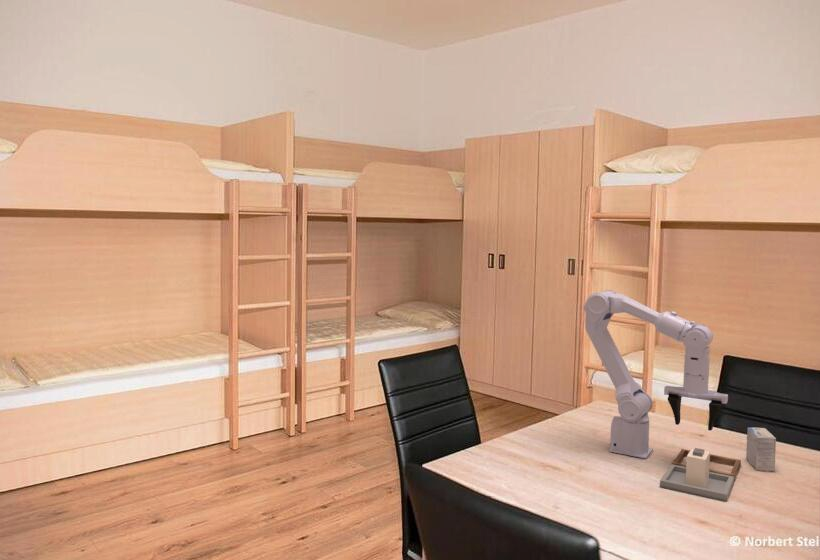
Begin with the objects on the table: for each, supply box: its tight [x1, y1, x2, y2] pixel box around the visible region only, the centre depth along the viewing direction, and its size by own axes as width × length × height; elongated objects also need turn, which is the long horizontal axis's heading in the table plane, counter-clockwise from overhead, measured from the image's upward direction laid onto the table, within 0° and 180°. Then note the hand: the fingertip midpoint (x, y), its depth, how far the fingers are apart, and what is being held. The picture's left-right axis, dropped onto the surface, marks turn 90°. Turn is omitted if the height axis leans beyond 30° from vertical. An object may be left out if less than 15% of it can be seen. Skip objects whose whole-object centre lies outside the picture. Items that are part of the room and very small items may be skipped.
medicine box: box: [745, 427, 777, 472], centre depth 161 cm, size 8×4×9 cm, turn 168°
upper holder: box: [671, 448, 742, 483], centre depth 160 cm, size 14×12×2 cm
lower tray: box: [659, 463, 735, 502], centre depth 149 cm, size 14×12×2 cm
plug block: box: [686, 447, 711, 488], centre depth 149 cm, size 4×6×8 cm, turn 146°
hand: (693, 426), depth 161 cm, fingers open, 7 cm apart
